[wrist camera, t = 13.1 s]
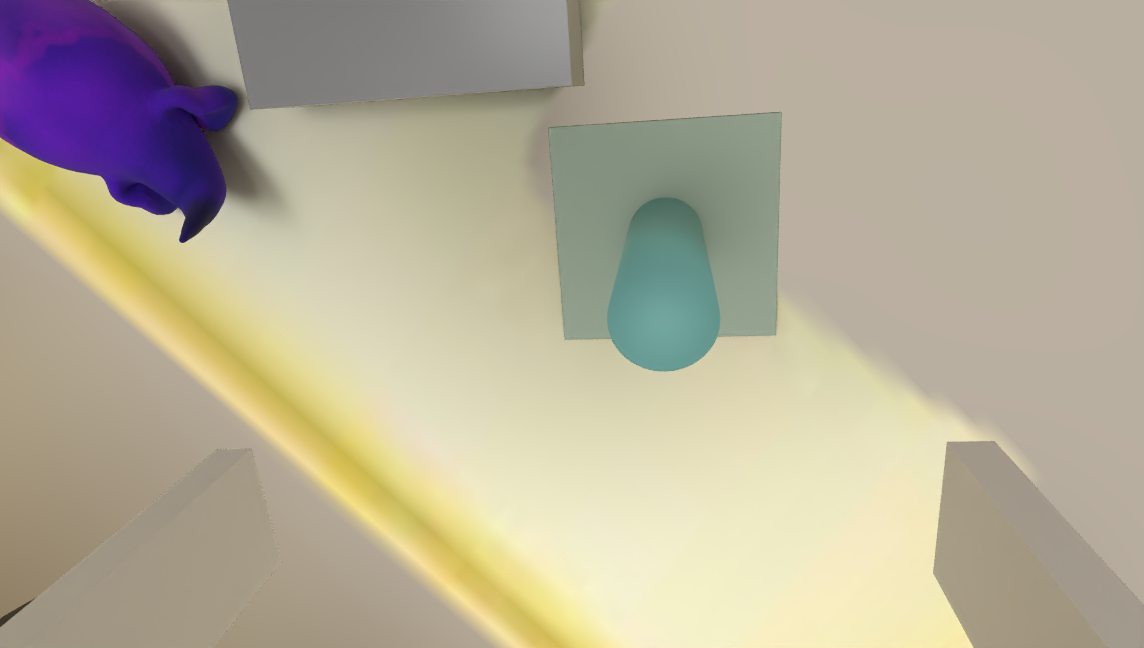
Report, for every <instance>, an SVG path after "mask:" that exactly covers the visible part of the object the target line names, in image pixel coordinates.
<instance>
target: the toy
mask: <svg viewBox="0 0 1144 648" xmlns="http://www.w3.org/2000/svg"><path fill="white" fill-rule="evenodd" d="M237 101H238V100H237V97H236V95H235V94H234V93H233V92H232V91H231V90H229V89H227V88H225V87H222V86H205V87H201V88H191V87H186V86H183V85H175V84H174V81H173V79H172V78H171V76H170V74H169V72H168V70H167V69H166V67H165V66H164V64H163V63H162V61H161V60H160V58H159V57H158V55H157V54H156V53H155V52H154V51H153V49H152V48H151V47H150V46H149V45H148V44H147V43H145V42H144V41H143V40H142V39H141V38H140V37H139V36H137V35H136V34H135V33H134V32H133V31H131V30H130V29H129V28H127V27H126V26H125V25H124V24H122V23H121V22H120V21H118V20H117V19H116V18H115V17H113V16H112V15H111V14H109V13H108V12H106V11H105V10H104V9H102V8H101V7H99V6H97V5H96V4H94V3H93V2H91V1H89V0H0V137H1V138H2V139H4V140H5V141H7V142H8V143H10V144H11V145H13V146H15V147H16V148H18V149H20V150H22V151H24V152H26V153H27V154H29V155H31V156H33V157H35V158H37V159H39V160H41V161H44V162H46V163H49V164H52V165H54V166H58V167H61V168H64V169H67V170H71V171H76V172H80V173H87V174H93V175H99V176H101V177H102V178H103V179H104V180H105V182H106V184H107V187H108V190H109V192H110V194H111V196H112V197H113V198H114V199H115V200H116V201H118V202H120V203H122V204H125V205H129V206H133V207H140V208H143V209H145V210H147V211H148V212H150V213H153V214H156V215H165V214H170V213H172V212H173V211H174V210H176V209H177V208H180V209H181V210H182V212H183V214H184V216H185V217H186V218H185V221H184V224H183V227H182V231H181V235H180V238H179V241H180V242H181V243H184V242H186V241H188V240H189V239H191V238H192V237H194V236H195V235H197V234H198V233H199V232H200V231H201V230H202V229H203V228H204V227H205V226H206V225H208V224H209V223H210V222H211V221H212V220H213V219H214V218H215V216H216V215H217V214H218V212H219V210H220V208H221V207H222V205H223V203H224V200H225V197H226V184H225V180H224V177H223V174H222V171H221V168H220V166H219V163H218V161H217V159H216V156H215V154H214V152H213V150H212V148H211V146H210V145H209V143H208V141H207V139H206V137H205V135H204V134H203V132H202V130H201V129H200V127H201V128H203V129H205V130H209V131H218V130H221V129H223V128H224V127H225V126H226V125H227V124H228V122H229V121H230V119H231V118H232V116H233V114H234V112H235V109H236V106H237ZM190 113H191V114H190ZM191 115H192V116H191ZM198 125H199V126H200V127H199V126H198Z"/></svg>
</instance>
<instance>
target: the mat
mask: <svg viewBox="0 0 1144 648" xmlns="http://www.w3.org/2000/svg"><path fill="white" fill-rule="evenodd" d="M781 117H782V113H781V112H772V113H757V114H743V115H727V116H712V117H697V118H682V119H667V120H652V121H637V122H622V123H607V124H592V125H577V126H563V127H550V128H548V131H549V144H550V156H551V170H552V183H553V196H554V208H555V221H556V234H557V247H558V260H559V273H560V286H561V298H562V311H563V324H564V337H565V340H573V339H611V336H610V333H609V330H608V324H607V312H608V306H609V303H610V299H611V295H612V291H613V287H614V283H615V279H616V276H617V272H618V268H619V264H620V260H621V256H622V252H623V249H624V245H625V241H626V237H627V233H628V229H629V226H630V222H631V220H632V218H633V216H634V214H635V213H636V212H637V210H638V209H639V208H640V207H641V206H643V205H644V204H645V203H647V202H649V201H651V200H654V199H657V198H675V199H678V200H681V201H683V202H685V203H686V204H688V205H689V206H690V207H691V208H692V209H693V210H694V211H695V212H696V214H697V215H698V217H699V219H700V222H701V226H702V230H703V235H704V240H705V244H706V249H707V253H708V258H709V263H710V267H711V272H712V277H713V281H714V286H715V290H716V295H717V300H718V304H719V309H720V328H719V332H718V335H717V337H721V336H770V335H776V304H777V266H778V228H779V192H780V191H779V190H780V189H779V188H780V154H781Z"/></svg>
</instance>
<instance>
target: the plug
mask: <svg viewBox="0 0 1144 648" xmlns="http://www.w3.org/2000/svg"><path fill="white" fill-rule="evenodd" d="M607 324H608V330H609V333H610V336H611V339H612V341H613V343H614V344H615V346H616V348H617V349H618V350H619V351H620V353H621V354H623V355H624V356H625V357H626V358H627V359H628V360H630V361H631V362H633V363H634V364H636V365H638V366H640V367H643V368H646V369H649V370H654V371H674V370H679V369H682V368H685V367H687V366H690V365H692V364H693V363H695V362H697V361H698V360H699V359H701V358H702V357H703V356H704V355H705V354H706V353H707V352H708V351H709V350H710V348H711V347H712V345H713V344H714V342H715V340H716V338H717V335H718V332H719V328H720V309H719V304H718V300H717V295H716V290H715V286H714V281H713V277H712V272H711V267H710V263H709V258H708V253H707V249H706V244H705V240H704V235H703V230H702V226H701V222H700V219H699V217H698V215H697V214H696V212H695V211H694V210H693V209H692V208H691V207H690V206H689V205H688V204H686V203H685V202H683V201H681V200H678V199H675V198H657V199H654V200H651V201H649V202H647V203H645V204H644V205H643V206H641V207H640V208H639V209H638V210H637V212H636V213H635V214H634V216H633V218H632V220H631V222H630V226H629V229H628V233H627V237H626V241H625V245H624V249H623V252H622V256H621V260H620V264H619V268H618V272H617V276H616V279H615V283H614V287H613V291H612V295H611V299H610V303H609V306H608V312H607Z"/></svg>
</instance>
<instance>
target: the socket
mask: <svg viewBox="0 0 1144 648" xmlns="http://www.w3.org/2000/svg"><path fill="white" fill-rule="evenodd" d="M227 1H228V5H229V10H230V15H231V20H232V24H233V29H234V34H235V39H236V43H237V48H238V53H239V58H240V62H241V67H242V72H243V77H244V82H245V86H246V91H247V96H248V101H249V105H250V110H251V109H268V108H286V107H303V106H316V105H330V104H343V103H356V102H370V101H383V100H396V99H410V98H423V97H436V96H450V95H463V94H476V93H490V92H503V91H516V90H530V89H543V88H556V87H569V86H583V85H584V71H583V53H582V37H581V20H580V4H579V0H227Z"/></svg>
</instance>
